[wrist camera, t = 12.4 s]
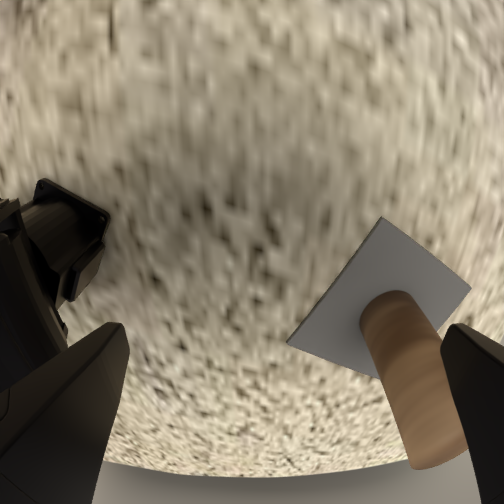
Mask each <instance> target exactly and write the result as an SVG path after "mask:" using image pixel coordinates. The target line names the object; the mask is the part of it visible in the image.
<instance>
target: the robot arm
mask: <svg viewBox="0 0 504 504" xmlns="http://www.w3.org/2000/svg"><path fill="white" fill-rule="evenodd" d="M42 183H43V184H44V188H43V187H42ZM101 216H102V217H103V218H104V219H105V221H102V220H101ZM109 222H110V216H109V214H108V213H107V212H106V211H104V210H102V209H100V208H98V207H96V206H95V205H93V204H91V203H89V202H87V201H85V200H84V199H82V198H80V197H78V196H76V195H74V194H73V193H71V192H69V191H67V190H65V189H64V188H62V187H60V186H58V185H56V184H55V183H53V182H51V181H49V180H47V179H45V178H43V179H40V180H39V181H38V182H37V184H36V189H35V193H34V197H33V200H32V201H30V202H29V203H27V204H25V205H23V206H20V202H19V198H16V199H13V200H10V201H9V198H8V199H5V200H4V199H1V198H0V504H92V500H93V496H94V491H95V487H96V483H97V480H98V475H99V472H100V468H101V464H102V461H103V457H104V454H105V450H106V447H107V443H108V440H109V436H110V433H111V430H112V426H113V423H114V420H115V416H116V413H117V410H118V406H119V403H120V398H121V393H122V388H123V383H124V378H125V374H126V369H127V364H128V360H129V354H130V348H129V344H128V340H127V336H126V332H125V328H124V326H123V325H122V324H121V323H115V322H107V323H105V324H104V325H102V326H101V327H99V328H98V329H96V330H94V331H93V332H91V333H90V334H88V335H87V336H85V337H84V338H82V339H81V340H79V341H78V342H76V343H75V344H73V345H72V346H70V347H69V348H68V345H67V340H66V339H67V334H68V328H67V326H66V324H65V323H63V322H62V320H61V317H60V315H59V313H58V311H57V310H58V309H59V307H60V306H61V305H62V304H63V302H64V301H65V300H67V301H69V302H73V301H75V299H76V298H77V297H78V296H79V294H80V293H81V292H82V291H83V289H84V288H85V287H86V286H87V285H88V284H89V283H90V281H91V279H92V278H93V277H94V276H95V274H96V273H97V271H98V268H99V264H100V261H101V258H102V255H103V252H104V249H105V244H104V242H103V239H104V236H105V233H106V230H107V227H108V224H109ZM440 355H441V358H442V361H443V365H444V369H445V372H446V376H447V380H448V384H449V388H450V391H451V395H452V398H453V401H454V404H455V407H456V410H457V413H458V416H459V419H460V422H461V425H462V428H463V432H464V435H465V438H466V442H467V445H468V449H469V452H470V456H471V460H472V463H473V467H474V472H475V476H476V480H477V484H478V488H479V493H480V498H481V504H504V346H502V345H500V344H499V343H497V342H495V341H493V340H492V339H490V338H488V337H486V336H485V335H483V334H481V333H479V332H478V331H476V330H474V329H472V328H471V327H469V326H467V325H465V324H463V323H456V324H452V325H450V326H449V328H448V330H447V332H446V335H445V337H444V339H443V341H442V343H441V346H440Z"/></svg>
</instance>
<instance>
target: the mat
mask: <svg viewBox="0 0 504 504" xmlns="http://www.w3.org/2000/svg"><path fill="white" fill-rule="evenodd" d="M471 289H472V288H471V287H470V286H469V285H468V284H467V283H466V282H465V281H463V280H462V279H461V278H460V277H459V276H458V275H456V274H455V273H454V272H453V271H452V270H450V269H449V268H448V267H447V266H446V265H444V264H443V263H442V262H441V261H439V260H438V259H437V258H436V257H434V256H433V255H432V254H431V253H429V252H428V251H427V250H426V249H424V248H423V247H422V246H420V245H419V244H418V243H417V242H415V241H414V240H413V239H411V238H410V237H409V236H407V235H406V234H405V233H403V232H402V231H401V230H399V229H398V228H397V227H395V226H394V225H392V224H391V223H390V222H388V221H387V220H386V219H384V218H383V217H381V218H380V219H379V221H378V222H377V224H376V225H375V226H374V228H373V229H372V231H371V232H370V234H369V235H368V236H367V238H366V239H365V241H364V242H363V243H362V245H361V246H360V248H359V249H358V250H357V252H356V253H355V255H354V256H353V257H352V259H351V260H350V261H349V263H348V264H347V265H346V267H345V268H344V269H343V271H342V272H341V273H340V275H339V276H338V277H337V279H336V280H335V281H334V283H333V284H332V285H331V287H330V288H329V289H328V291H327V292H326V293H325V294H324V296H323V297H322V298H321V300H320V301H319V302H318V303H317V305H316V306H315V307H314V308H313V310H312V311H311V312H310V313H309V315H308V316H307V317H306V318H305V320H304V321H303V322H302V323H301V324H300V326H299V327H298V328H297V329H296V331H295V332H294V333H293V334H292V335H291V337H290V338H289V339H288V340H287V341H286V343H287V344H288V345H290V346H293V347H295V348H298V349H300V350H302V351H305V352H307V353H310V354H313V355H315V356H318V357H320V358H323V359H325V360H328V361H331V362H333V363H336V364H338V365H341V366H344V367H346V368H349V369H352V370H355V371H357V372H360V373H363V374H366V375H369V376H371V377H374V378H377V379H380V377H379V375H378V372H377V370H376V367H375V364H374V362H373V359H372V357H371V354H370V352H369V349H368V347H367V345H366V342H365V340H364V337H363V335H362V332H361V330H360V326H359V322H360V317H361V314H362V312H363V310H364V309H365V307H366V306H367V305H368V304H369V303H370V302H371V301H372V300H373V299H374V298H376V297H377V296H379V295H381V294H383V293H385V292H388V291H394V290H400V291H404V292H407V293H409V294H410V295H411V296H412V297H413V299H414V300H415V301H416V303H417V304H418V306H419V307H420V308H421V310H422V311H423V313H424V314H425V316H426V317H427V319H428V320H429V321H430V323H431V324H432V326H433V327H434V329H435V330H436V332H437V331H438V329H439V328H440V327H441V326H442V325H443V324H444V322H445V321H446V320H447V319H448V318H449V317H450V315H451V314H452V313H453V312H454V310H455V309H456V308H457V307H458V306H459V304H460V303H461V302H462V301H463V299H464V298H465V297H466V295H467V294H468V293H469V291H470V290H471Z"/></svg>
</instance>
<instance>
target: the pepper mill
mask: <svg viewBox="0 0 504 504" xmlns="http://www.w3.org/2000/svg"><path fill="white" fill-rule="evenodd" d="M359 326H360V330H361V332H362V335H363V337H364V340H365V342H366V345H367V347H368V349H369V352H370V354H371V357H372V359H373V362H374V364H375V367H376V370H377V372H378V375H379V377H380V380H381V383H382V385H383V388H384V390H385V393H386V396H387V399H388V401H389V404H390V407H391V409H392V412H393V415H394V418H395V421H396V424H397V426H398V429H399V432H400V435H401V438H402V441H403V444H404V447H405V450H406V453H407V456H408V459H409V463H410V466H411V468H413V469H416V470H422V469H428V468H432V467H435V466H438V465H440V464H442V463H445V462H447V461H449V460H451V459H453V458H455V457H456V456H458V455H460V454H461V453H463V452H464V451H466V450H467V449H468V445H467V442H466V438H465V435H464V432H463V428H462V425H461V422H460V419H459V416H458V413H457V410H456V407H455V404H454V401H453V398H452V395H451V391H450V388H449V384H448V380H447V376H446V372H445V369H444V365H443V361H442V358H441V355H440V346H441V343H442V339H441V338H440V336H439V335H438V333H437V332H436V330H435V329H434V327H433V326H432V324H431V323H430V321H429V320H428V319H427V317H426V316H425V314H424V313H423V311H422V310H421V308H420V307H419V306H418V304H417V303H416V301H415V300H414V299H413V297H412V296H411V295H410V294H409V293H407V292H404V291H400V290H394V291H388V292H385V293H383V294H381V295H379V296H377V297H376V298H374V299H373V300H372V301H371V302H370V303H369V304H368V305H367V306H366V307H365V309H364V310H363V312H362V314H361V317H360V322H359Z"/></svg>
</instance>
